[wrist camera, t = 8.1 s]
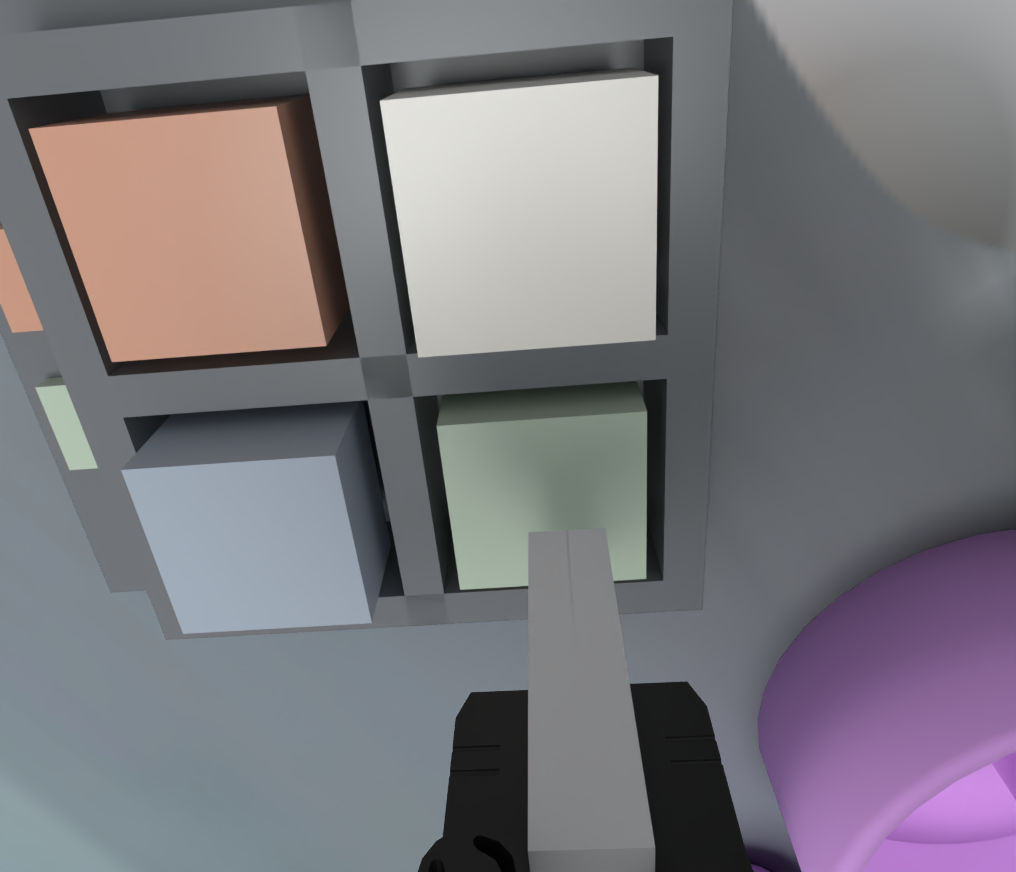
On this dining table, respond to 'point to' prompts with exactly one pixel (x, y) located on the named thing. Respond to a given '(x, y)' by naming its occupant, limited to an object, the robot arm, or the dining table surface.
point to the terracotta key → (200, 226)
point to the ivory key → (527, 210)
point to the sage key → (543, 475)
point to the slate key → (264, 516)
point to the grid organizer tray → (361, 260)
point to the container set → (903, 719)
